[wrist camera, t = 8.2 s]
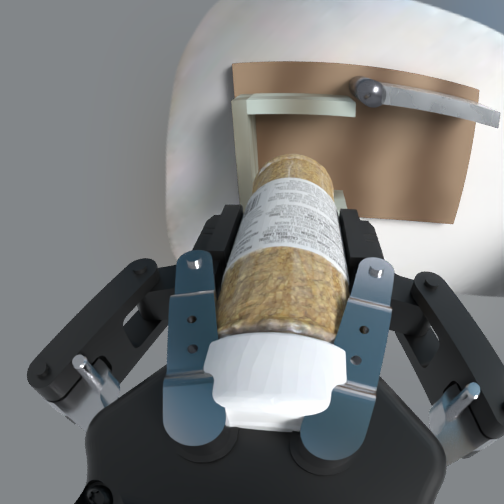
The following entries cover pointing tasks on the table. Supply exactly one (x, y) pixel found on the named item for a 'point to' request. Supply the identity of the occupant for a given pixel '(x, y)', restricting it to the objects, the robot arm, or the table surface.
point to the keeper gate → (420, 100)
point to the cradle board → (353, 137)
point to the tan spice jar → (282, 301)
